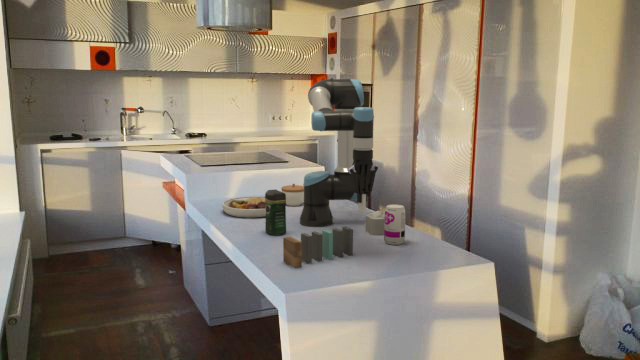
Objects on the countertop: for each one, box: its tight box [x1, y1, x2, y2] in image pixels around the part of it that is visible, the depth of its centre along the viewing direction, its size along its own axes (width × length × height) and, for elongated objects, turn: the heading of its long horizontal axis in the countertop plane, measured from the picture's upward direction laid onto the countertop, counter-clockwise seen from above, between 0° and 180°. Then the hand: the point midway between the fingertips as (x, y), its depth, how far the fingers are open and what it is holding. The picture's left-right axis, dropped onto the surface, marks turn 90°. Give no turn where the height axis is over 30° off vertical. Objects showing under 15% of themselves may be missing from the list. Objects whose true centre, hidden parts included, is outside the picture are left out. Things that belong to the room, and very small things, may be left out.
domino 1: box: [300, 232, 313, 264], centre depth 220 cm, size 2×5×10 cm, turn 32°
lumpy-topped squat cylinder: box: [365, 210, 385, 236], centre depth 261 cm, size 10×13×9 cm
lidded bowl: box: [280, 183, 304, 207], centre depth 314 cm, size 13×13×11 cm
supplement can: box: [383, 203, 406, 246], centre depth 244 cm, size 8×8×15 cm
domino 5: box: [341, 226, 354, 257], centre depth 229 cm, size 2×5×10 cm, turn 32°
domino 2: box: [311, 231, 323, 262], centre depth 222 cm, size 2×5×10 cm, turn 32°
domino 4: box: [331, 227, 344, 259], centre depth 227 cm, size 2×5×10 cm, turn 32°
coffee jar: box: [264, 189, 287, 236], centre depth 258 cm, size 10×8×19 cm
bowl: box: [221, 195, 266, 219], centre depth 298 cm, size 30×30×8 cm
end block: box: [282, 236, 303, 268], centre depth 217 cm, size 3×8×9 cm, turn 32°
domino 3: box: [321, 229, 334, 261], centre depth 225 cm, size 2×5×10 cm, turn 32°
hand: (362, 210), depth 231 cm, fingers closed
